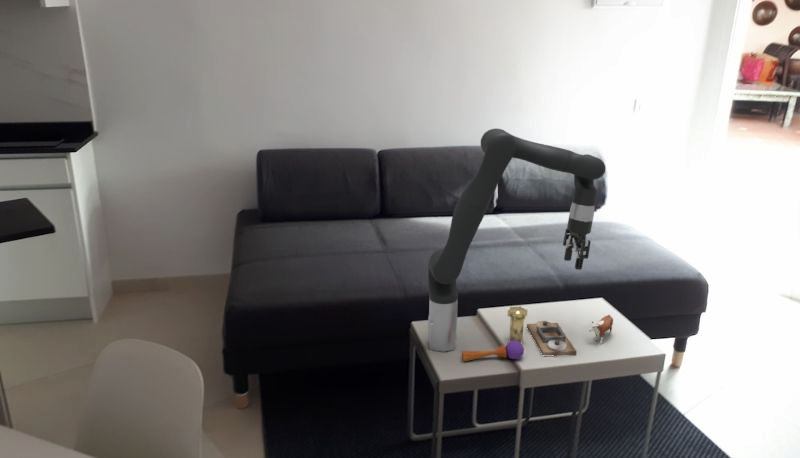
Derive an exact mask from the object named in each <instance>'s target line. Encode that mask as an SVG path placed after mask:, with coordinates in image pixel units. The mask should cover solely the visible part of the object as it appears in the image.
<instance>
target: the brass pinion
mask: <svg viewBox="0 0 800 458" xmlns="http://www.w3.org/2000/svg"><path fill="white" fill-rule="evenodd" d="M507 317H510V321H509V337H508V341H509V340H510V341H514V340H515V341H518V342H520V343H521V342H522V343H523V335H524V322H525V320H526V317H528V309H527V308H524V307H522V306H510V307H509V309H508V310H507Z"/></svg>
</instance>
